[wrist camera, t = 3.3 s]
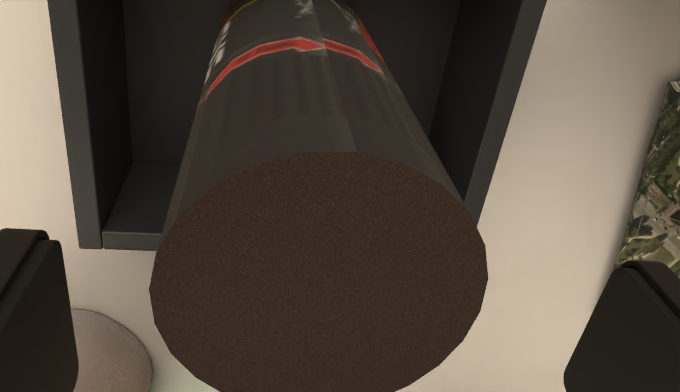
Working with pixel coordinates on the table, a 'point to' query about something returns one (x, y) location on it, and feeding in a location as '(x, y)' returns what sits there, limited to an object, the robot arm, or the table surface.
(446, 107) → the bin
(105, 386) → the pillar candle
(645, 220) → the eiffel tower figurine
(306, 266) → the deodorant
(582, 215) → the table surface
